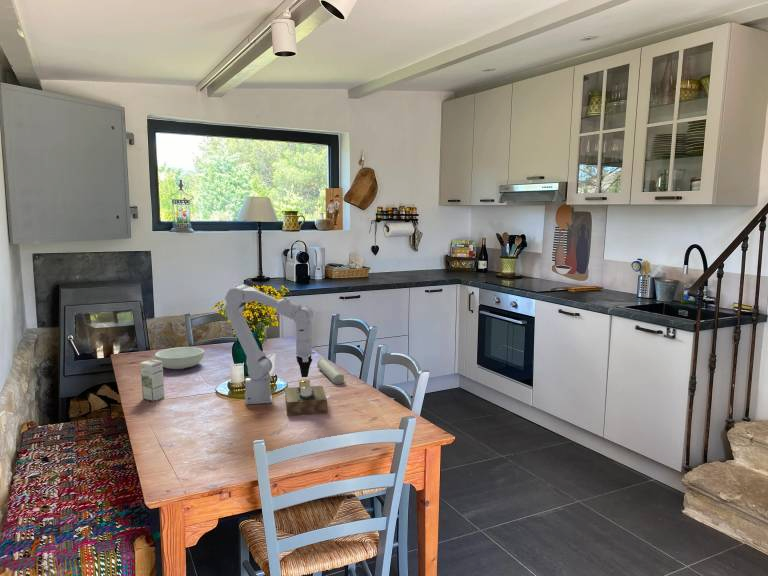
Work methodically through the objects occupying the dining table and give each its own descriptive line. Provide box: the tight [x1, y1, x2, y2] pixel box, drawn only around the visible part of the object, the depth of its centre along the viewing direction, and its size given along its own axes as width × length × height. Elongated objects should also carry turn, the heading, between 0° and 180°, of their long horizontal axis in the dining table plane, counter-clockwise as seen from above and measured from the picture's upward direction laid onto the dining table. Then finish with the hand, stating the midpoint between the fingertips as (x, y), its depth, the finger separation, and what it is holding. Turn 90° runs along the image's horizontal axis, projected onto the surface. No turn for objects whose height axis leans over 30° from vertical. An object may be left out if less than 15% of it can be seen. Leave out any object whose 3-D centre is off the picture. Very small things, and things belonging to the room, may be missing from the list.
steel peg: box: [300, 385, 312, 399], centre depth 207 cm, size 4×4×5 cm
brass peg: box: [298, 378, 311, 392], centre depth 215 cm, size 4×4×5 cm
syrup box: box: [139, 358, 165, 402], centre depth 219 cm, size 6×6×14 cm
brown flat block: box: [284, 385, 328, 417], centre depth 211 cm, size 14×16×5 cm
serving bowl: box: [154, 346, 205, 370], centre depth 262 cm, size 21×21×7 cm
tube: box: [316, 358, 345, 385], centre depth 248 cm, size 5×5×25 cm
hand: (304, 375), depth 214 cm, fingers closed
